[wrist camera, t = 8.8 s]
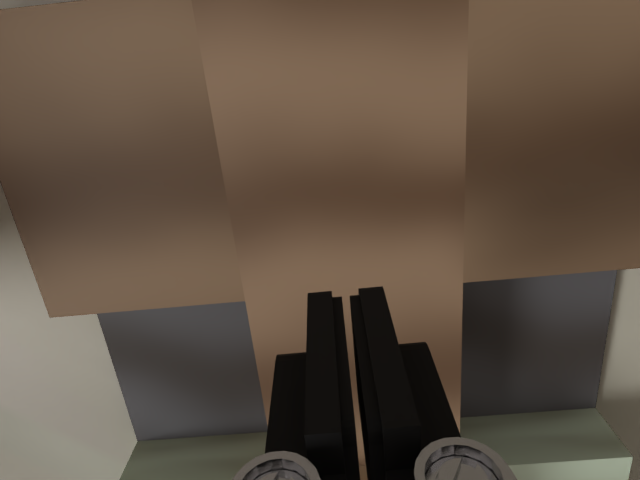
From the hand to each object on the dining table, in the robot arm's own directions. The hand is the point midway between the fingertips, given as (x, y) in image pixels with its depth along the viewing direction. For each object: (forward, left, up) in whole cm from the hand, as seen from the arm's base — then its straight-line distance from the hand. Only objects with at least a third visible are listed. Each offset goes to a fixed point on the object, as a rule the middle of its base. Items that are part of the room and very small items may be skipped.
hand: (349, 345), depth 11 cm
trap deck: (+4, 0, -7) cm, 8 cm away
